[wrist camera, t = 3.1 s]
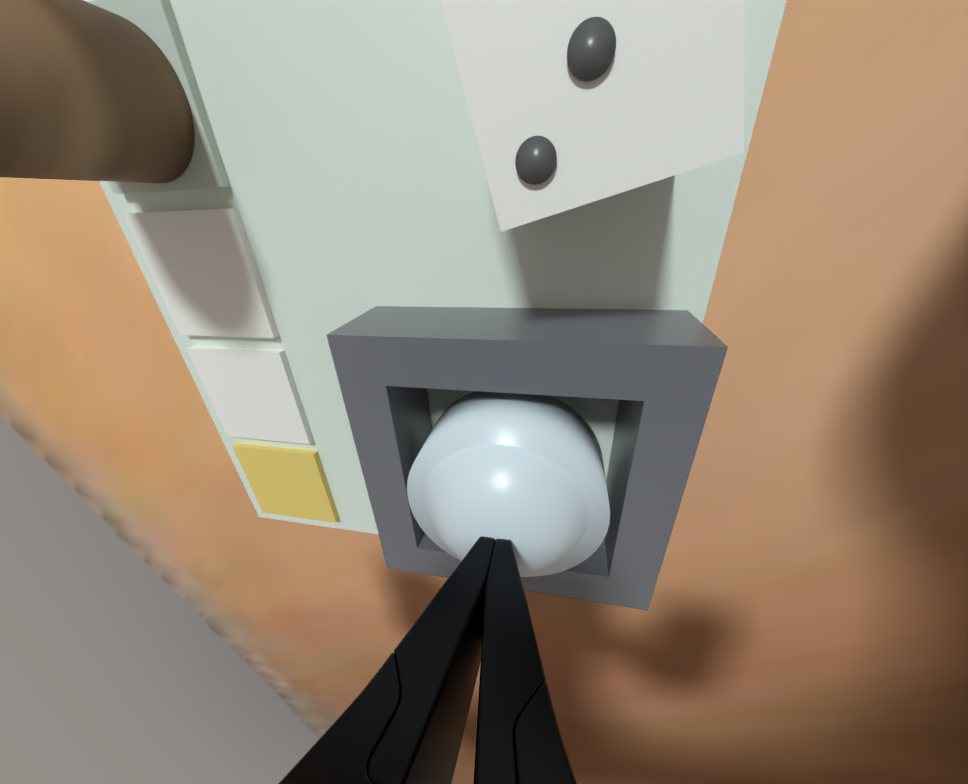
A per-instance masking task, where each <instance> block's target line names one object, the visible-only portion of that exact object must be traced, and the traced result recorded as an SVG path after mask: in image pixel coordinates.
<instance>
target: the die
mask: <svg viewBox="0 0 968 784" xmlns="http://www.w3.org/2000/svg"><path fill="white" fill-rule="evenodd" d="M441 4H442V7H443V11H444V15H445V19H446V23H447V27H448V30H449V34H450V38H451V42H452V46H453V50H454V54H455V57H456V61H457V65H458V69H459V73H460V77H461V80H462V84H463V88H464V92H465V96H466V100H467V104H468V107H469V111H470V115H471V119H472V123H473V127H474V130H475V134H476V138H477V142H478V146H479V150H480V153H481V157H482V161H483V165H484V169H485V173H486V177H487V180H488V184H489V188H490V192H491V196H492V200H493V203H494V207H495V211H496V215H497V219H498V223H499V227H500V230H501V232H502V231H505V230H508V229H511V228H515V227H518V226H521V225H524V224H527V223H530V222H533V221H536V220H539V219H542V218H545V217H548V216H551V215H554V214H558V213H561V212H564V211H567V210H570V209H573V208H576V207H579V206H582V205H585V204H588V203H591V202H594V201H597V200H600V199H604V198H607V197H610V196H613V195H616V194H619V193H622V192H625V191H628V190H631V189H634V188H637V187H640V186H643V185H646V184H650V183H653V182H656V181H659V180H662V179H665V178H668V177H671V176H674V175H677V174H680V173H683V172H686V171H689V170H692V169H696V168H699V167H702V166H705V165H708V164H711V163H714V162H717V161H720V160H723V159H726V158H729V157H732V156H735V155H739V154H742V153H744V41H745V0H441Z"/></svg>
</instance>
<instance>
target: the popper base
mask: <svg viewBox="0 0 968 784" xmlns="http://www.w3.org/2000/svg"><path fill="white" fill-rule="evenodd" d="M327 339H328V343H329V347H330V351H331V354H332V358H333V362H334V366H335V370H336V374H337V377H338V381H339V385H340V389H341V393H342V396H343V400H344V404H345V408H346V412H347V415H348V419H349V423H350V427H351V431H352V435H353V438H354V442H355V446H356V450H357V454H358V457H359V461H360V465H361V469H362V473H363V476H364V480H365V484H366V488H367V492H368V496H369V499H370V503H371V507H372V511H373V515H374V518H375V522H376V526H377V530H378V534H379V537H380V541H381V545H382V549H383V553H384V557H385V560H386V564H387V568H392V569H398V570H404V571H410V572H416V573H422V574H428V575H435V576H441V577H447V578H449V577H450V576H451V574H452V573H453V572H454V570H455V569H456V568H457V566H458V565H459V564H460V562H461V561H460V560H458V559H457V558H455V557H453V556H451V555H450V554H448V553H447V552H446V551H444V550H443V549H441V548H440V547H439V546H438V545H437V544H435V543H434V542H433V541H432V540H431V539H430V538H429V537H428V536H427V535H426V534H425V532H424V531H423V530H422V528H421V527H420V526H419V524H418V522H417V521H416V519H415V517H414V515H413V513H412V511H411V508H410V505H409V501H408V495H407V480H408V476H409V472H410V470H411V467H412V465H413V463H414V461H415V459H416V458H417V456H418V454H419V452H420V450H421V449H422V447H423V445H424V443H425V442H426V440H427V438H428V436H429V435H430V433H431V431H432V422H431V414H430V407H429V399H428V391H427V388H430V389H447V390H464V391H481V392H498V393H515V394H532V395H549V396H566V397H583V398H600V399H617V400H619V404H618V410H617V417H616V423H615V429H614V435H613V441H612V448H611V454H610V460H609V466H608V472H607V478H606V485H607V492H608V499H609V506H610V523H609V527H608V531H607V534H606V536H605V538H604V540H603V542H602V543H601V545H600V546H599V547H598V549H597V550H596V551H595V552H594V553H593V554H592V555H591V556H590V557H589V558H587V559H586V560H584V561H583V562H582V563H580V564H578V565H576V566H574V567H572V568H570V569H567V570H565V571H562V572H558V573H555V574H551V575H544V576H535V577H521V581H522V585H523V589H524V590H526V591H532V592H538V593H544V594H550V595H556V596H562V597H568V598H575V599H581V600H587V601H593V602H599V603H605V604H611V605H617V606H623V607H629V608H635V609H642V610H648V608H649V604H650V601H651V598H652V595H653V591H654V588H655V585H656V581H657V578H658V575H659V572H660V568H661V565H662V562H663V558H664V555H665V552H666V549H667V545H668V542H669V539H670V535H671V532H672V529H673V525H674V522H675V519H676V516H677V512H678V509H679V506H680V502H681V499H682V496H683V493H684V489H685V486H686V483H687V479H688V476H689V473H690V470H691V466H692V463H693V460H694V456H695V453H696V450H697V446H698V443H699V440H700V437H701V433H702V430H703V427H704V423H705V420H706V417H707V414H708V410H709V407H710V404H711V400H712V397H713V394H714V391H715V387H716V384H717V381H718V377H719V374H720V371H721V368H722V364H723V361H724V358H725V354H726V351H727V348H728V347H727V346H726V345H725V344H724V343H723V342H722V341H721V340H720V339H718V338H717V337H716V336H715V335H714V334H713V333H712V332H711V331H710V330H709V329H708V328H706V327H705V326H704V325H703V324H702V323H701V322H700V321H699V320H698V319H697V318H696V317H694V316H693V315H692V314H691V313H690V312H689V311H688V310H634V309H557V308H480V307H402V306H375V307H374V308H372V309H370V310H368V311H367V312H365V313H363V314H361V315H360V316H358V317H356V318H355V319H353V320H351V321H349V322H348V323H346V324H344V325H342V326H341V327H339V328H337V329H336V330H334V331H332V332H330V333H329V334H327Z"/></svg>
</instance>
